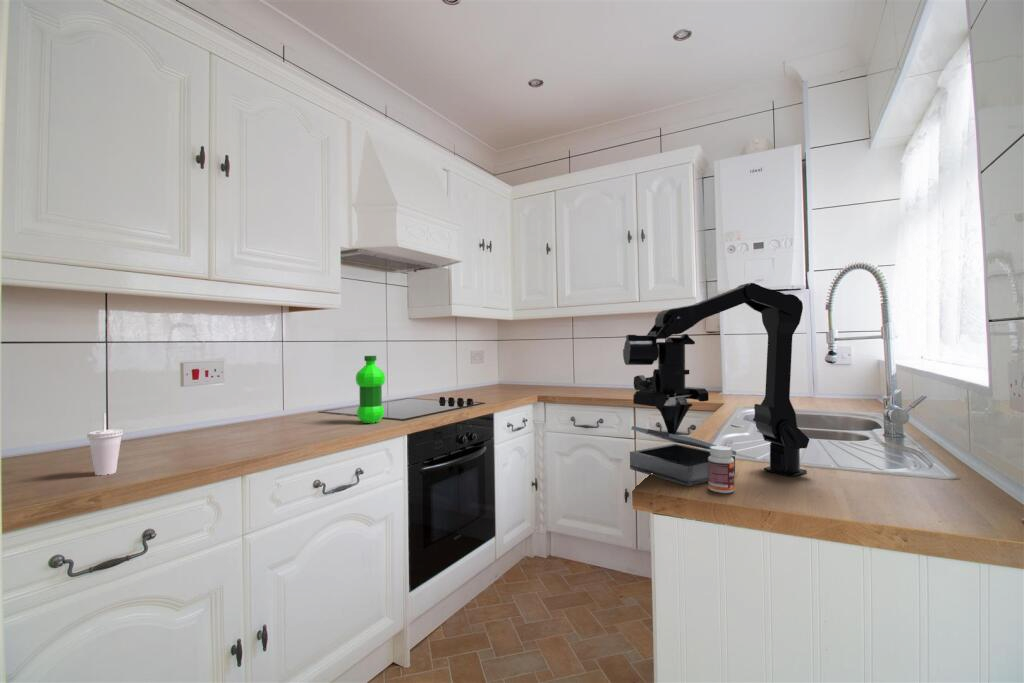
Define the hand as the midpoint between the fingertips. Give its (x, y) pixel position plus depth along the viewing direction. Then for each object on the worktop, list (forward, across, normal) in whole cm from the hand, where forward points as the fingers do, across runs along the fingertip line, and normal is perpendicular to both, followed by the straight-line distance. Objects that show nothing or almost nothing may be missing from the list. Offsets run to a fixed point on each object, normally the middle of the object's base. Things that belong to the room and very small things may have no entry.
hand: (671, 434), depth 106 cm
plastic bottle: (+9, +37, -108) cm, 114 cm away
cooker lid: (+2, -3, 0) cm, 4 cm away
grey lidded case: (+9, -3, 0) cm, 9 cm away
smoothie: (+10, +108, -72) cm, 130 cm away
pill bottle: (+9, +1, +13) cm, 16 cm away
